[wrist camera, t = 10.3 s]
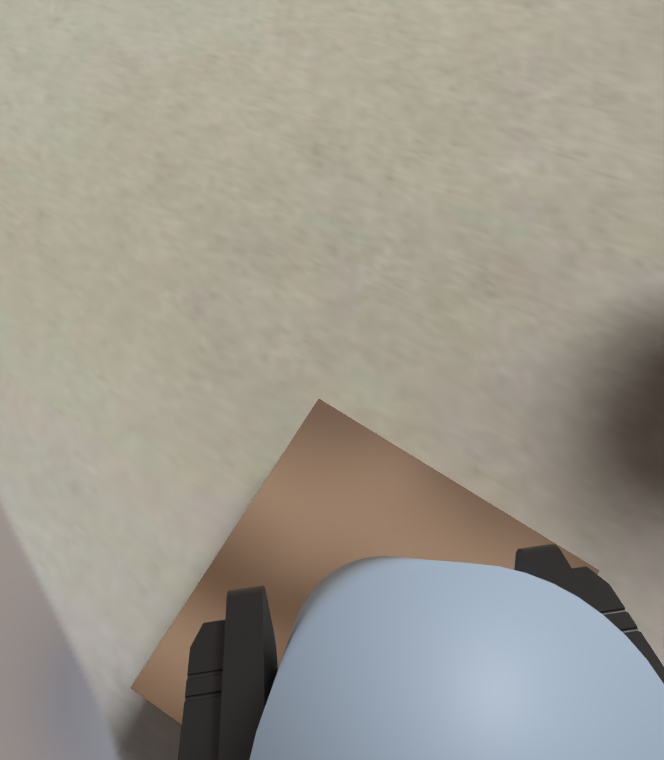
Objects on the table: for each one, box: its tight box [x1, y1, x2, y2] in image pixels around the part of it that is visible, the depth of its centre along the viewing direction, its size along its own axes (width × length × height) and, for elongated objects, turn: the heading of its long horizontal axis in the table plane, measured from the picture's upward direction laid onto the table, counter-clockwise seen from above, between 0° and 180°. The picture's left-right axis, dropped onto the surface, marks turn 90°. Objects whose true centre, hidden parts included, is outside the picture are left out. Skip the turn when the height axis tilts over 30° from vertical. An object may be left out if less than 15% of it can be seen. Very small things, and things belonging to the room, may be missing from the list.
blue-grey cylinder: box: [250, 556, 664, 760], centre depth 11 cm, size 5×5×10 cm
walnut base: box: [131, 399, 599, 725], centre depth 24 cm, size 12×12×5 cm
